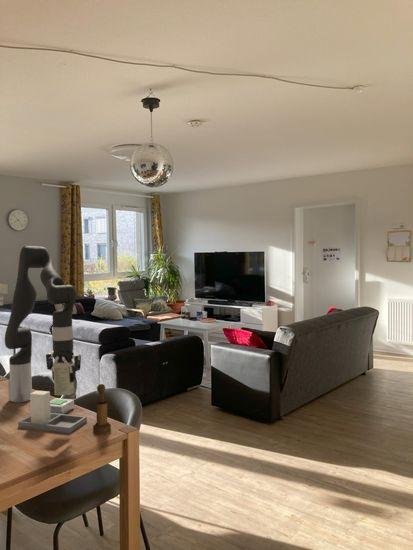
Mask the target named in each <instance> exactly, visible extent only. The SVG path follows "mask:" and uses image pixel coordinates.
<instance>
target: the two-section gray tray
mask: <svg viewBox="0 0 413 550" xmlns="http://www.w3.org/2000/svg"><path fill="white" fill-rule="evenodd" d="M87 419H88V418H87V416H84V415H83V416H82V415H74V414H66V413H65V414H56V413H51V420H50V421H48V422H46V423H45V424H40V423H31V414H30V415H29V416H27V417H25V418H23V419H21V420H19V421H17V424H18V425H17V426H18V427H17V428H19V429H27V430H28V429H30V430H38V431H47V432H52V433H53V432H54V433H62V434H71V433H73V432H74V431H76V430H78V429H79V428H80V427H82V426H83V425H84V424H86V423H87V422H88V420H87Z"/></svg>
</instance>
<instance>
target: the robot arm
mask: <svg viewBox="0 0 413 550" xmlns="http://www.w3.org/2000/svg"><path fill="white" fill-rule="evenodd" d="M18 259H19V260H18V266H17V267H18V269H17V279H16V283H15V288H14V293H13V296H12V303H11V310H10V314H9V315H10V316H9V319H8V323H7V326H6V330H5V334H4V345H5V348H6V349H8V350H16V349H20V350H18V352H16V353H14V354H13V355H11V356H10V357H9V361H8V363H9V379H8V380H7V389H8V401H10V402H11V403H12V402H13V403H24V402H25V403H26V402H30V393H32V392H33V383H32V380H33V379H32V353H33V352H32V347H33V346H32V344H33V343H32V341H33V338H32V335H33V334H32V331H31V329H30V328H29V327H27V326H25V327H22V326H21V324H22V323H23V322H24V320H25V319H27V317H29V315H30V314H31V313H32V312H33V310H34V308H35V304H36V300H37V297H38V296H37V291H36V288H35V287H34V285H33V283H32V281H31V280H30V277H29V269H42V270H41V272H40V275H39V277H40V280H41V283H42V285H43V286H44V288H45V290H46V291H45V292H46V298H47V301H48V303H50V304H51V305H63V307H62V308H61V309H58V310H55V311H53V313H52V330H51V331H52V332H51V336H52V338H51V339H52V351H53V352H49V353H47V354H45V360H46V361H45V362H46V370H48V371H51V378H52V381H53V382H54V369H53V363H58V362H59V363H65V364H67V366H68V367H69V371H70V382H74V383H75V381H76V379H77V377H76V372H78V371H81V365H82V364H81V361H82V356H81V354H74V330H73V310H74V307H75V303H76V301H77V300H76V299H77V291H76V289H75V287H74V286H73V285H71V284H64V283H65V282H64V280H63V278H62V276H60V274H59V272H58V271H57V270H56V267H55V264H54V262H53V259H52V257H51V254H50V251H49V250H48V249H47V248H46V247H44V246H39V245H37V246H36V245H25V246H24V245H23V246H22V247H21V249H20V252H19V258H18ZM20 326H21V327H20ZM69 362H72V364H68V363H69Z"/></svg>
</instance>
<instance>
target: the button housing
mask: <svg viewBox="0 0 413 550" xmlns="http://www.w3.org/2000/svg"><path fill="white" fill-rule="evenodd" d="M56 399H59V400H67V402H65V403H63V404H61V405H55V404H50V412H51V413H56V414H66V413H68V412H70V411H72V410H73V409H75V400H74V399H69V398H60V397H55V398H53V399H50V403H51V402H53V401H55V400H56Z"/></svg>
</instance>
